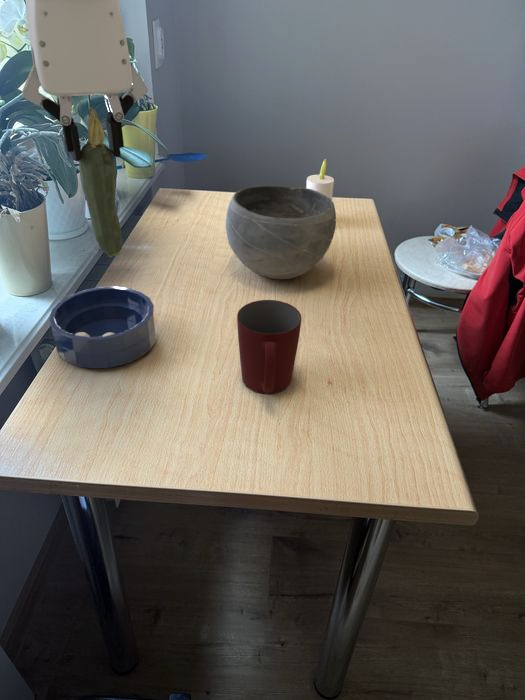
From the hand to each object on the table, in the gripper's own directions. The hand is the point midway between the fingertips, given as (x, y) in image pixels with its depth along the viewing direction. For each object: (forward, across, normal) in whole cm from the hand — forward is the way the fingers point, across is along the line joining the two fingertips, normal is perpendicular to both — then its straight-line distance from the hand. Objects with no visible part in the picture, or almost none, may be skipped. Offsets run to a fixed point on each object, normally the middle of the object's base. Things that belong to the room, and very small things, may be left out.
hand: (96, 154), depth 65 cm
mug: (+31, -17, +15) cm, 39 cm away
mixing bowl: (+31, +2, -5) cm, 31 cm away
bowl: (+31, -35, -17) cm, 50 cm away
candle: (+30, -55, -36) cm, 73 cm away
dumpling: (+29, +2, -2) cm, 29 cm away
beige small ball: (+29, +6, -4) cm, 29 cm away
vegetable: (+15, 0, -2) cm, 15 cm away
